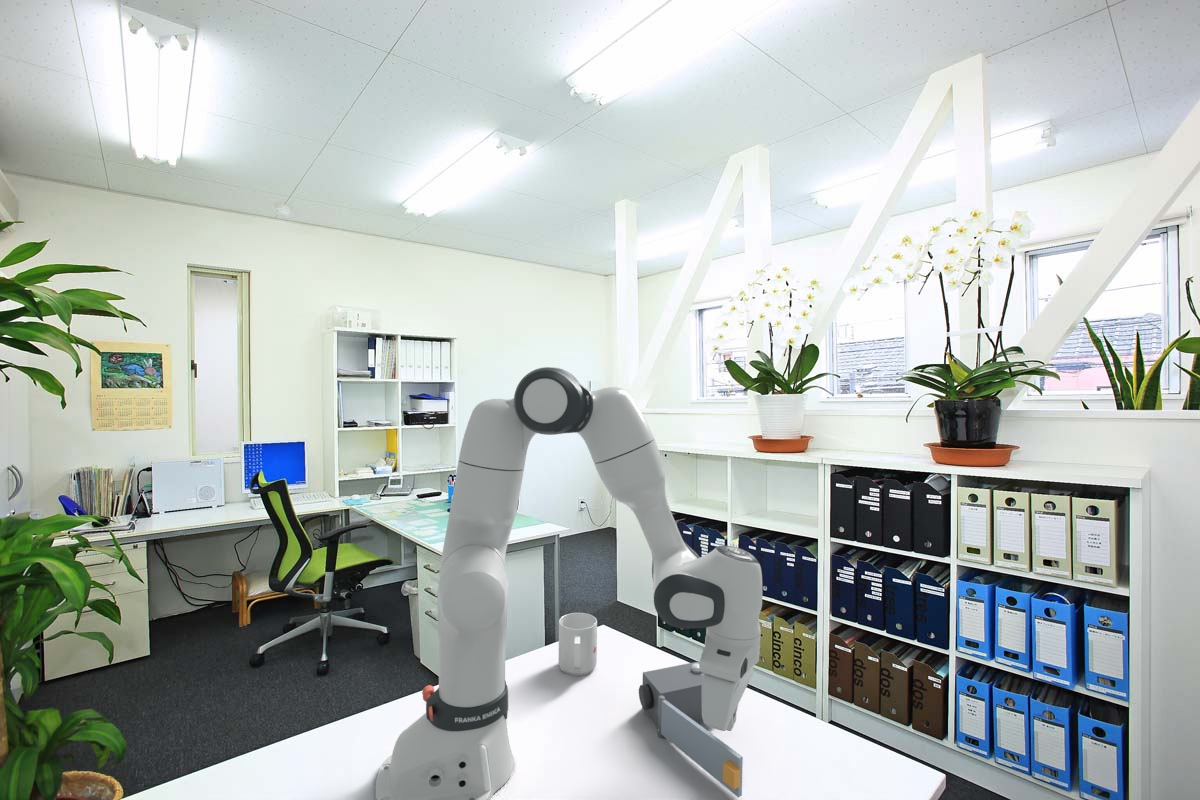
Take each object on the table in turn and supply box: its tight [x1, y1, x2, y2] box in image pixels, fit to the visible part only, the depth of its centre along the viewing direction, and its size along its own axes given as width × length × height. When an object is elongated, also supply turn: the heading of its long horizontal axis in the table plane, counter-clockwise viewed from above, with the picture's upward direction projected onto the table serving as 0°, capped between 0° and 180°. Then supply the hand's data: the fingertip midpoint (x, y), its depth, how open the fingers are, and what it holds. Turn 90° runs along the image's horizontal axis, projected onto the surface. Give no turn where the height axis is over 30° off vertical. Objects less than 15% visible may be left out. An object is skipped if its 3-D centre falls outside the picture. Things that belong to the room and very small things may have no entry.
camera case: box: [638, 660, 704, 730], centre depth 110 cm, size 15×8×8 cm, turn 111°
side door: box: [657, 696, 744, 798], centre depth 95 cm, size 20×2×7 cm, turn 35°
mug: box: [558, 612, 598, 677], centre depth 126 cm, size 12×9×11 cm
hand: (728, 725), depth 92 cm, fingers closed
